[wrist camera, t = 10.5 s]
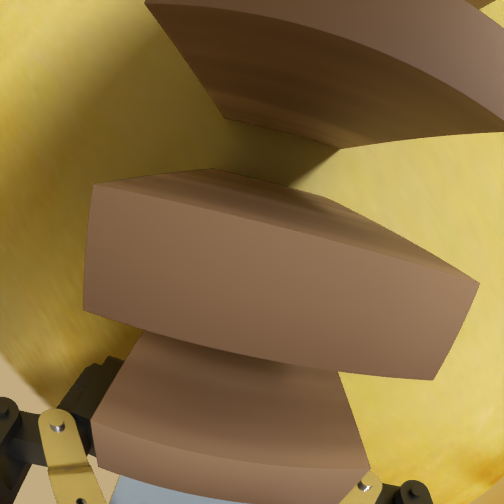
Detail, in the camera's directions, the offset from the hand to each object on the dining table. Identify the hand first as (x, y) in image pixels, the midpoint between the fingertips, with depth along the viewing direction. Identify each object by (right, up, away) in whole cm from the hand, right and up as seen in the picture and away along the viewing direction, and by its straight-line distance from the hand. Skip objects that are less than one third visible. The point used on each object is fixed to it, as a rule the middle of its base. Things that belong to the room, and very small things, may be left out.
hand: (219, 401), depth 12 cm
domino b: (+2, +8, +2) cm, 8 cm away
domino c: (+3, +12, +1) cm, 12 cm away
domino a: (+1, +5, +3) cm, 5 cm away
